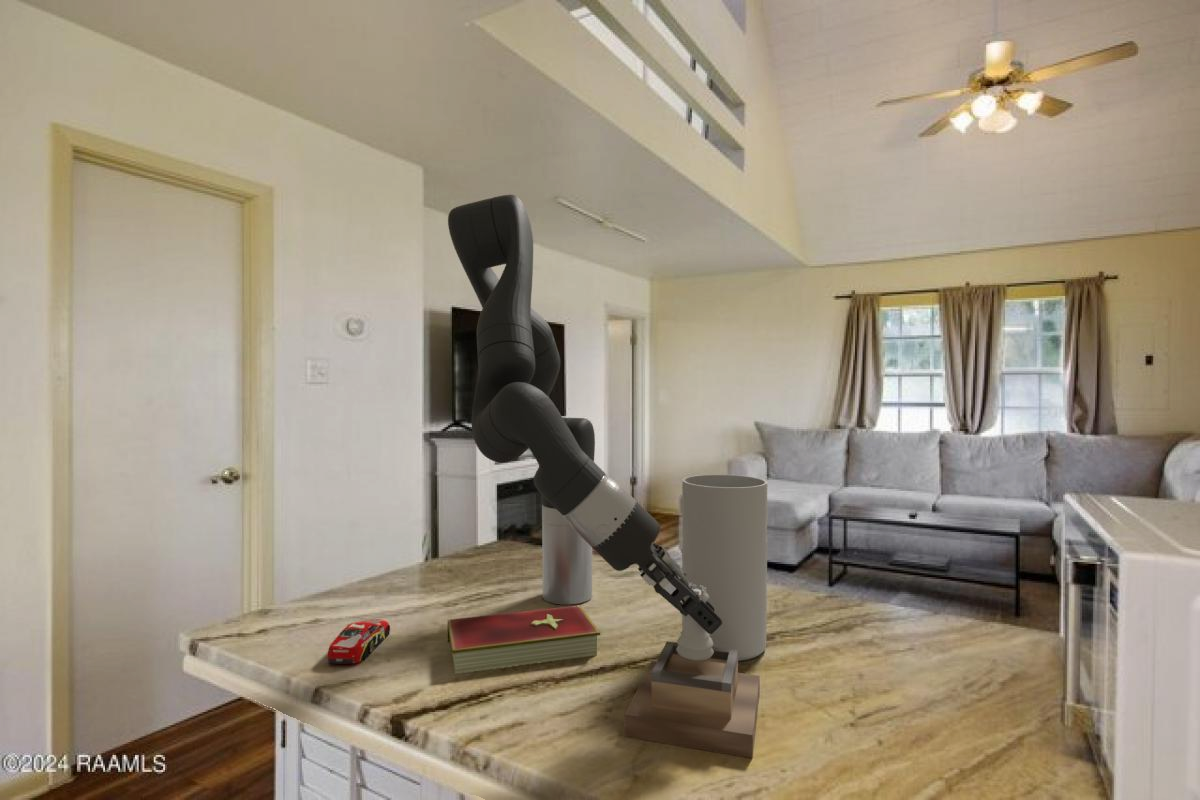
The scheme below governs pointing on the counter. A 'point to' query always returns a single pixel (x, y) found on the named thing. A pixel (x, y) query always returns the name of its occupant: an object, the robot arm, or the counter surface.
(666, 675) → the walnut plinth
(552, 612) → the hardcover book
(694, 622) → the rook chess piece
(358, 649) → the race car
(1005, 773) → the counter surface
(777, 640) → the counter surface
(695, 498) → the cylinder vase
